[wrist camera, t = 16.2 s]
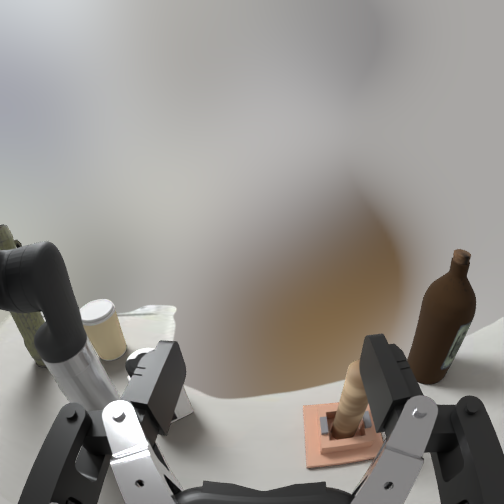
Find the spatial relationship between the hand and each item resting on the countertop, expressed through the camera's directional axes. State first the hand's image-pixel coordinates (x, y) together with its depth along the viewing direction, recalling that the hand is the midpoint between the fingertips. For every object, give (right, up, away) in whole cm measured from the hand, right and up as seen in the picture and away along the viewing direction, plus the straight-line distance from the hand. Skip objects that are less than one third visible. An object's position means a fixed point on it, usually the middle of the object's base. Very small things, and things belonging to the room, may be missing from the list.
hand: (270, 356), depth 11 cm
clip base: (+13, -24, +23) cm, 36 cm away
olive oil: (+34, -19, +32) cm, 50 cm away
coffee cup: (-34, -19, +45) cm, 60 cm away
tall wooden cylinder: (+13, -23, +23) cm, 35 cm away
